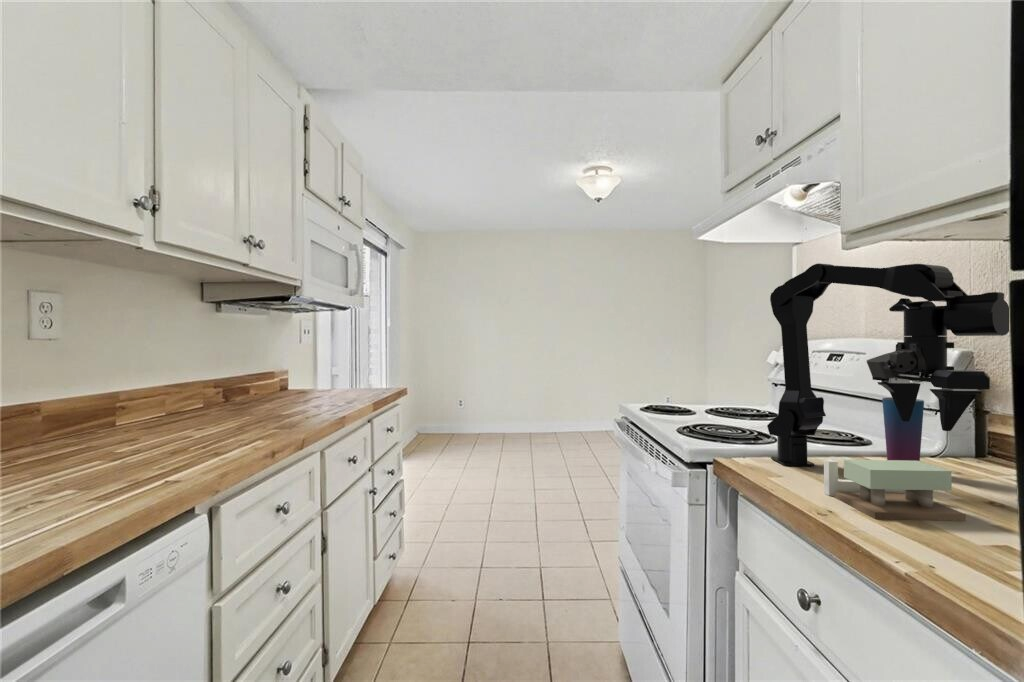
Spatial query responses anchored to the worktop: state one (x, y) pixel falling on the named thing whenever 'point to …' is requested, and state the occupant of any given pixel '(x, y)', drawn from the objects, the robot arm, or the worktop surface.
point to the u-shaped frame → (841, 481)
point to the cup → (902, 431)
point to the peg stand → (899, 505)
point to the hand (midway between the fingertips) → (924, 425)
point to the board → (897, 475)
